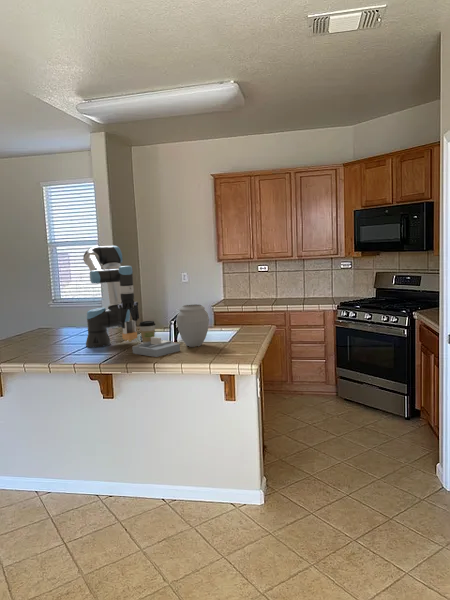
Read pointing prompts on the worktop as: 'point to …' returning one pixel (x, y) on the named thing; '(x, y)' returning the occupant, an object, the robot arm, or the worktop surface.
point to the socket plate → (156, 348)
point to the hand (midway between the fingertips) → (129, 332)
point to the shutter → (157, 340)
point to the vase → (193, 324)
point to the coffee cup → (147, 330)
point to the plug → (129, 332)
